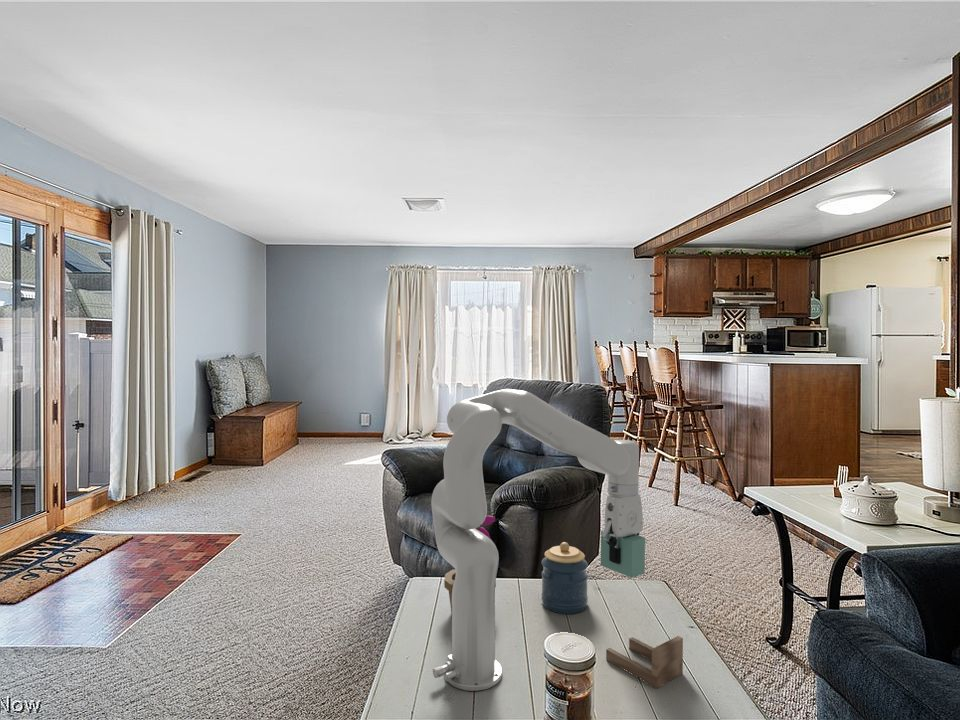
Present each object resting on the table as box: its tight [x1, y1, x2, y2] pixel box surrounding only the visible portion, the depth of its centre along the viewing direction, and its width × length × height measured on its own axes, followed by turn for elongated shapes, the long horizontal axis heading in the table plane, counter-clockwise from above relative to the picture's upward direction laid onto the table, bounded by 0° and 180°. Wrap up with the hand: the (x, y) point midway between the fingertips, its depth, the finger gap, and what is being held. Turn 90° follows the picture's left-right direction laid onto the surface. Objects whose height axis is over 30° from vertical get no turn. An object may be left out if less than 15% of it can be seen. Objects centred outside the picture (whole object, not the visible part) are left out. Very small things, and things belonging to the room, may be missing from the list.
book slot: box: [605, 635, 684, 689], centre depth 127 cm, size 9×14×8 cm
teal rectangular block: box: [600, 529, 646, 579], centre depth 143 cm, size 5×10×9 cm, turn 36°
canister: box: [541, 541, 589, 615], centre depth 159 cm, size 13×13×18 cm
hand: (622, 559), depth 143 cm, fingers closed on teal rectangular block, 5 cm apart
